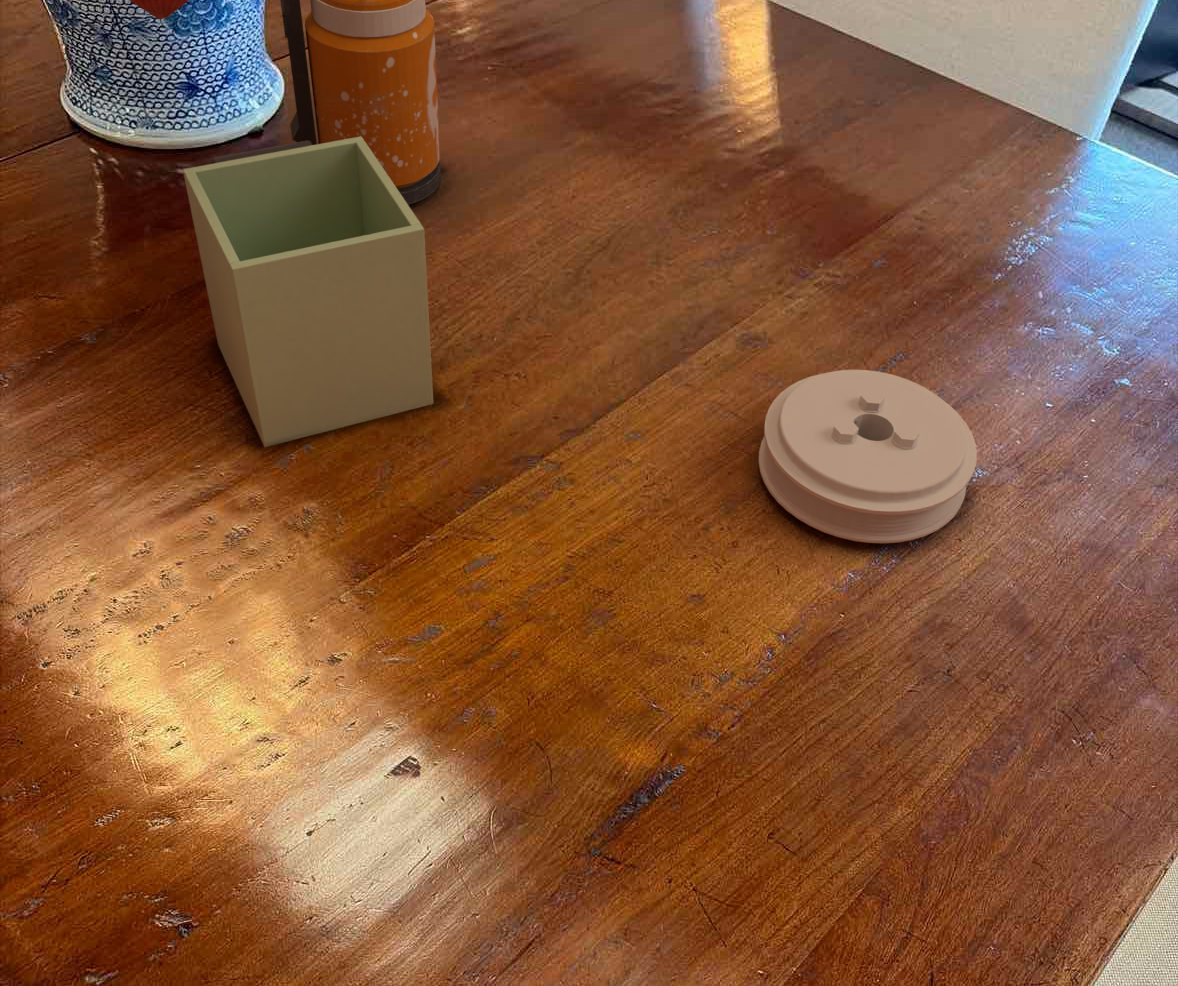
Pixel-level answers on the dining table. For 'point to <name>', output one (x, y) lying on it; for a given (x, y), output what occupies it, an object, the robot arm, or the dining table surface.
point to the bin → (314, 285)
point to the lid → (866, 456)
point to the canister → (369, 83)
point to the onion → (159, 6)
